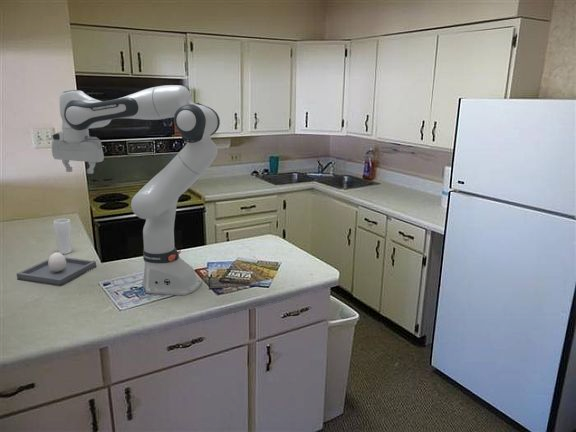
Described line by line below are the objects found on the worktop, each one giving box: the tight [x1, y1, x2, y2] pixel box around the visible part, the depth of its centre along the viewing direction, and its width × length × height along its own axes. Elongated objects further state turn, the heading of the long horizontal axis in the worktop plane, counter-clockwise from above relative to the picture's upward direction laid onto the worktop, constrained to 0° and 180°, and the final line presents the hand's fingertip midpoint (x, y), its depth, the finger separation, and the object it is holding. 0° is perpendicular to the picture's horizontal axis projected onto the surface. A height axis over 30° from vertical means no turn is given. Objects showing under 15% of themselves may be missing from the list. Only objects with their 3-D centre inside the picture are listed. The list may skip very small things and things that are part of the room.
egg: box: [48, 251, 66, 272], centre depth 175 cm, size 6×6×8 cm
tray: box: [16, 256, 97, 287], centre depth 176 cm, size 20×20×2 cm
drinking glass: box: [52, 218, 73, 255], centre depth 196 cm, size 7×7×15 cm
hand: (79, 172), depth 166 cm, fingers open, 8 cm apart
